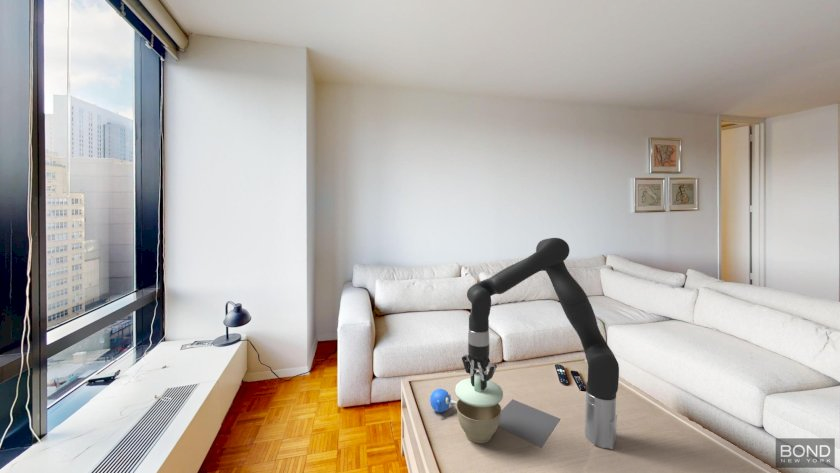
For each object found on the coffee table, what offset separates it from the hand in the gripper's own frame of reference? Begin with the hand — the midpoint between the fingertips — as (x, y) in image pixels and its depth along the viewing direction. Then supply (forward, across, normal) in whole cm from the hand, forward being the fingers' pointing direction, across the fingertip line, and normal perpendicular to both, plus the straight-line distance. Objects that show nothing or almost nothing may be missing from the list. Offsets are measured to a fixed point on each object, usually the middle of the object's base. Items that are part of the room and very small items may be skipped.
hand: (478, 387), depth 115 cm
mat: (+18, -10, -18) cm, 27 cm away
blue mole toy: (+18, +18, -3) cm, 26 cm away
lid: (+2, 0, 0) cm, 2 cm away
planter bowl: (+18, 0, 0) cm, 18 cm away
